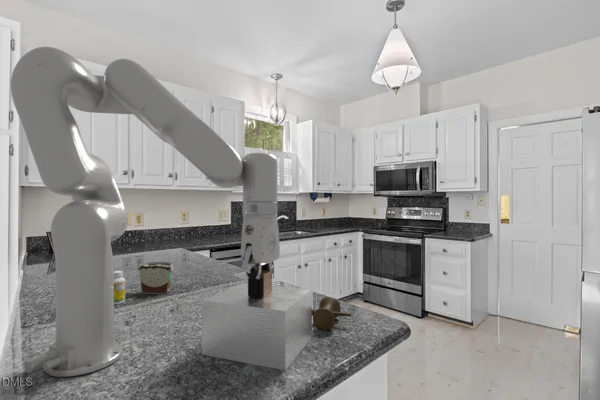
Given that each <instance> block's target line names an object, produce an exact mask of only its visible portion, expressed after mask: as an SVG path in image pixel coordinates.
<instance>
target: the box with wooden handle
mask: <svg viewBox="0 0 600 400" xmlns="http://www.w3.org/2000/svg"><path fill="white" fill-rule="evenodd" d="M256 271H257V270H256ZM260 279H263V296H262V298H253V297H249V296H248V283H242V282H241V283H238V284H236V285H234V286H231V287H230V288H227V289H225V290H222V291H220V292H218V293H216V294H214V295H212V296H208V297H207V298H205V299H202V300H201V355H203V356H208V357H213V358H219V359H223V360H224V359H225V360H228V361H235V362H239V363H244V364H250V365H254V366H259V367H265V368H269V369H275V370H279V371H280V370H281V371H285V372H286V371H287V369H288V368H289V367H290V366H291V365H292V363H293V362H294V360H296V358H297V357H298V356H299V355H300V353H301V352H302V351H303V350H304V348H305V347H306V346H307V345H308V343H309V342H310V341H311V340H312V336H313V333H312V332H313V316H312V309H313V307H312V306H313V303H312V302H313V301H312V300H313V299H312V298H313V296H312V295H313V293H312V289H307V288H306V289H305V288H296V287H295V288H294V287H284V286H274V285H272V291H271V271H266V270H261V278H260Z"/></svg>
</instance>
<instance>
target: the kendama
mask: <svg viewBox="0 0 600 400" xmlns="http://www.w3.org/2000/svg"><path fill="white" fill-rule="evenodd" d="M341 309H342V308H341V303H340V302H339V299H337V298H336V297H334V296H333V297H332V296H325V297H324V298H322V299H320V301H319V306H318V308H317V309H314V308H312V324H313V325H314V326H315V328H317V329H318V330H321V331H329V330H331V329H333V327H334V326H335V321H336V320H335V319H337V318H338V317H352V313H350V312H343V311H342V310H341ZM341 311H342V312H341Z"/></svg>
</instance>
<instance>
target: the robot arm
mask: <svg viewBox="0 0 600 400" xmlns="http://www.w3.org/2000/svg"><path fill="white" fill-rule="evenodd" d="M10 78H11V79H10V93H11V97H12V103H13V105H14V108H15V110H16V113H17V115H18V118H19V120H20V123H21V125H22V127H23V130H24V133H25V136H26V140H27V142H28V145H29V149H30V151H31V154H32V156H33V160H34V162H35V165H36V168H37V170H38V173H39V177H40V179H41V181H42V183H43V185H44V186H45V187H46V189H48V190H49V191H50V192H53V194H57V195H61V196H68V197H69V196H70V197H71V199H72V201H71V202H68V203H66V204H64V205H63V206H62V207H61V208H59V209H58V210H57V212H56V213H55V215H53V218H52V221H51V225H50V237H51V242H52V246H53V252H54V258H55V261H54V262H55V336H54V337H55V339H54V341H55V343H53V344H50V345H49V347H48V351H46V352H45V353H44V354H43V355H41V356H38V357H35V358H33V359H31V360H27V361H26V362H25V363H24V370H25V372H26V373H28V374H29V373H32V372H34V371H37V370H39V369H41V368H42V369H43V371H44V372H45V373H46V375H49V376H53V377H57V378H59V377H60V378H68V377H77V376H82V375H85V374H89V373H93V372H96V371H99V370H102V369H104V368H106V367H108V366H110V365H113V363H115V362H117V360H119V359H120V357H121V356H122V354H123V347H122V345H121V344H119V343H118V342H114V337H115V336H114V331H115V327H114V324H115V323H114V321H115V319H114V317H115V314H114V313H115V312H114V310H115V309H114V308H115V305H114V271H115V266H114V265H115V264H114V263H115V262H114V256H113V255H114V254H113V250H112V243H111V242H114V241H115V240H117V239H119V238H120V237H122V235H124V233H125V232H126V230H127V227H128V223H129V219H128V214H127V210H126V207H125V204H124V202H123V198H122V195H121V192H120V190H119V187H118V184H117V182H116V179H115V176H114V173H113V171H112V170H111V168H110V166H109V164H108V163H106V161H104V160H103V159H102V158H100V157H99V156H97V155H95V154H93V153H92V154H91V153H90V152H89V151H88V148H87V147H86V144H85V142H84V140H83V137H82V134H81V132H80V127H79V125H78V123H77V121H76V118H75V117H74V115H73V113H72V110H71V109H70V108H73V109H75V110H78V111H81V112H84V113H94V114H95V113H96V114H115V115H117V114H118V115H134V116H135V117H136V119H138V120H139V121H140V122H141V123H142V124H144V125H145V126H146V127H147V128H148V129H149V130H150V131H151V132H153V134H154V135H156V136H157V137H158V138H159V139H160V140H161V141H163V142H164V143H166V144H168V145H170V146H171V147H173V148H174V149H175V151H178V152H179V153H180V155H182V157H184V158H185V159H186V160H188V161H189V162H190V164H192V165H193V166H194V167H195V168H196V169H198V170H199V171H200V172H201V173H202V174H203V175H204V176H205V177H206V178H207V179H208V180H210V182H211V183H212V184H213V185H215V186H217V187H219V188H222V189H223V188H235V187H242V217H243V221H242V229H241V241H240V257H241V259H240V260H241V262H242V264H241V269H242V270H243V271H244V272H245V274H246V279H247V284H248V296H249V297H253V298H262V296H263V279H260V278H261V270H266V271H271V291H272V286H273V285H272V284H273V283H272V282H273V281H272V277H273V276H272V274H273V266H274V262H275V261H277V260H278V259H279V258H280V257H281V253H280V250H281V249H280V247H281V245H280V231H279V223H278V160H277V157H276V156H275V155H274V154H271V153H267V152H266V153H265V152H252V153H247V154H246V155H244V156H240V154H238V152H237V151H236V150H235V149H234V148H233V147H232V146H231V144H229V143H228V142H227V141H226V140H225V139H223V138H222V137H221V136H220V135H219V133H217V132H216V131H215V130H213V128H211V127H210V126H209V125H208V124H207V123H205V122H204V121H203V119H201V118H200V117H198V116H197V115H196V114H195V113H194V112H193V111H192V110H191V109H189V108H188V107H187V106H186V104H185V105H184V103H182V101H180V100H179V99H178V98H177V97H176V96H175V95H174V94H172V93H171V92H170V91H169V90H168V89H167V88H166V87H165V86H164V85H163V84H162V83H161V82H160V81H158V80H157V78H155V76H153V75H152V74H151V73H150V72H149V71H148V70H146V69H145V68H144V67H143V66H142V65H141V64H139V63H137V62H136V61H133V60H132V59H127V58H119V59H116V60H113V61H112V62H111V63H109V64H108V65H107V67H106V68H105V71H104V75H98V74H97V75H96V74H93V73H92V72H91V71H90V70H89V69H88V68H87V67H86V66H85V65H84V64H82V62H81V61H79V60H78V58H76V57H74V56H73V55H71V54H69V53H68V52H66V51H64V50H61V49H59V48H57V47H51V46H39V47H36V48H33V49H31V50H29V51H28V52H26V53H25V54H23V55H22V57H21V58H20V59H19V60H18V61H17V63H16V64H15V66H14V69H13V71H12V73H11V77H10ZM69 107H70V108H69ZM254 261H255V262H256V263H258V264H255V263H252V262H254ZM252 266H253V267H257V271H256V270H255V268H253V267H252Z"/></svg>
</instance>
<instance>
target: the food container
mask: <svg viewBox="0 0 600 400" xmlns="http://www.w3.org/2000/svg"><path fill="white" fill-rule="evenodd" d="M137 267H138V268H137V271H139V279H140V290H141V291H140V293H141V294H145V295H146V294H148V295H150V294H152V295H153V294H154V295H168V294H169V293H170V288H171V281H172V280H171V279H172V271H174V265H173V263H172V262H169V261H153V262H143V263H139V264H138V266H137Z"/></svg>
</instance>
